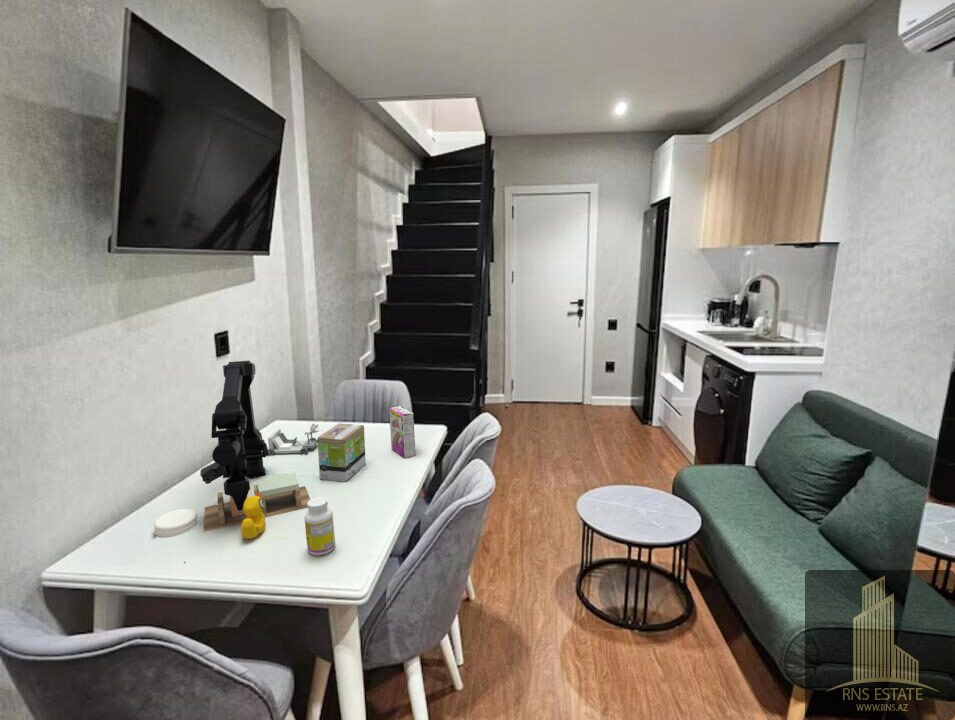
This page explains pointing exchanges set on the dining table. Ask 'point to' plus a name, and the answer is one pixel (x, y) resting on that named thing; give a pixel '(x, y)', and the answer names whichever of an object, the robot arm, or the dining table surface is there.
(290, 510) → the wooden slotted rack
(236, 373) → the robot arm
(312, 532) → the supplement bottle
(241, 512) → the block
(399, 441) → the candy bar box
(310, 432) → the toy car
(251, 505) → the duckling
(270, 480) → the cover
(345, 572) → the dining table surface
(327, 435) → the tea box
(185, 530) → the coaster
